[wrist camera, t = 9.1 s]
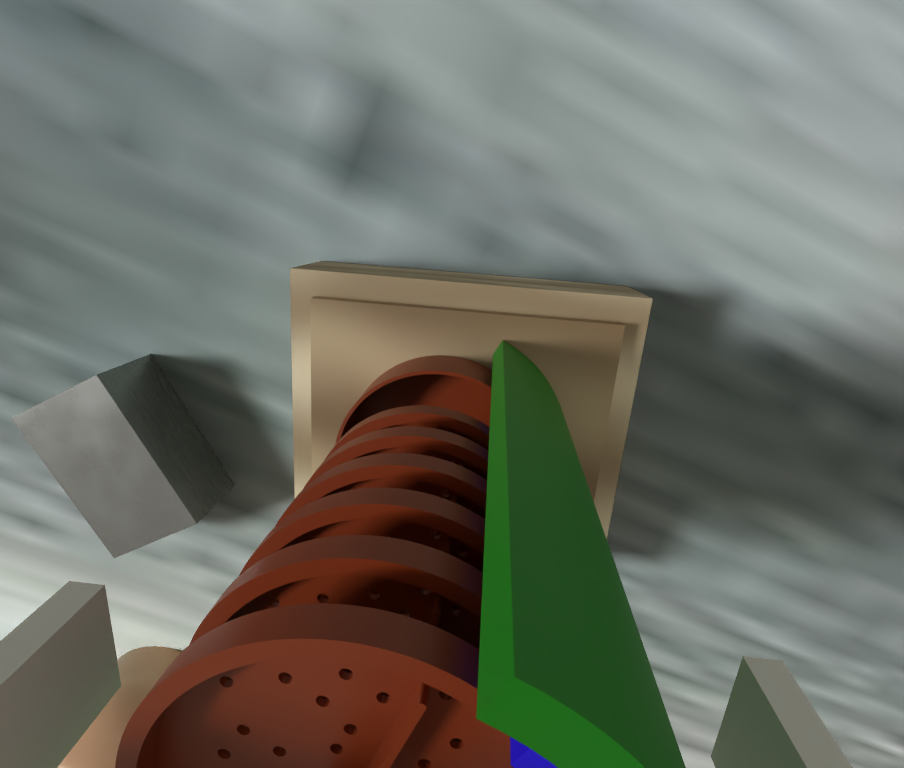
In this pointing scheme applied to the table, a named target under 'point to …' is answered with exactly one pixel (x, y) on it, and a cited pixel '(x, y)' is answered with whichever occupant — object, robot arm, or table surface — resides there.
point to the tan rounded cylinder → (120, 707)
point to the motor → (422, 603)
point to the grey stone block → (127, 455)
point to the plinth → (465, 349)
